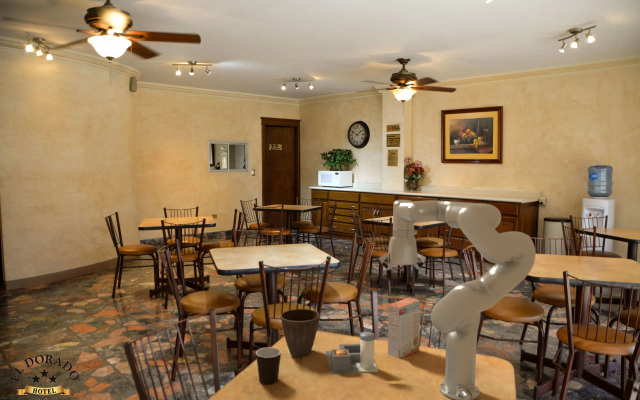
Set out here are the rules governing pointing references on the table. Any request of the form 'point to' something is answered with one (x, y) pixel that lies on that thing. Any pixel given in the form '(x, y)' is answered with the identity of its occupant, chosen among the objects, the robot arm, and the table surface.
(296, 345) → the plant pot
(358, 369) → the mat
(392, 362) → the table surface
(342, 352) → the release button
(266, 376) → the coffee mug
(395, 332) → the cracker box
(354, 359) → the grey compartment tray
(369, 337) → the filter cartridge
